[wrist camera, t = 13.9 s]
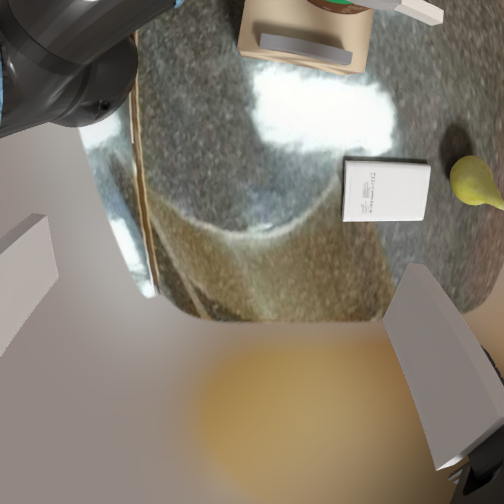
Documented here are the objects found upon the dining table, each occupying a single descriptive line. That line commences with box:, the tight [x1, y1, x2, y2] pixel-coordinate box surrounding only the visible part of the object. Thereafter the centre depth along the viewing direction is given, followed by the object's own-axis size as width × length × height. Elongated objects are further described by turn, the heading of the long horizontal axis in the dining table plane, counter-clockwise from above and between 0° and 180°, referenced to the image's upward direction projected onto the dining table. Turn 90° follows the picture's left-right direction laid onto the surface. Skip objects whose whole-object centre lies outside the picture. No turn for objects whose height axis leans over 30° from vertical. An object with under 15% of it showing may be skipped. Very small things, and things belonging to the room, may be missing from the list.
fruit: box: [450, 155, 504, 210], centre depth 31 cm, size 7×8×12 cm
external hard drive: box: [342, 160, 431, 221], centre depth 38 cm, size 2×8×12 cm
